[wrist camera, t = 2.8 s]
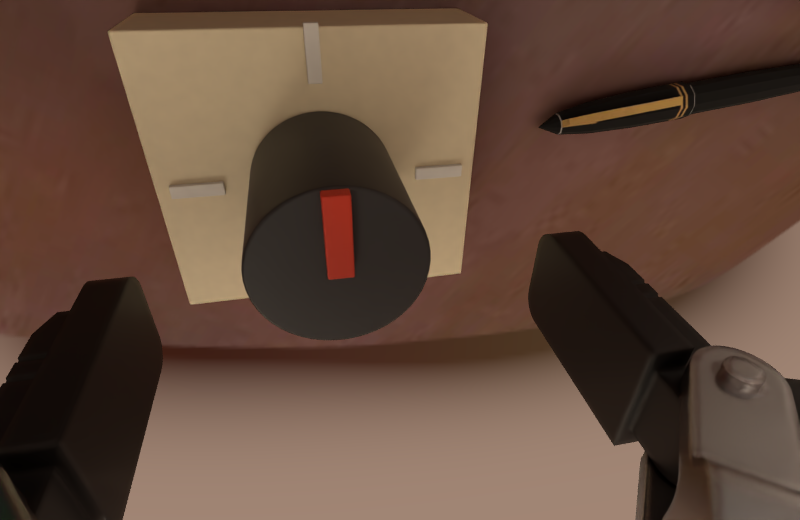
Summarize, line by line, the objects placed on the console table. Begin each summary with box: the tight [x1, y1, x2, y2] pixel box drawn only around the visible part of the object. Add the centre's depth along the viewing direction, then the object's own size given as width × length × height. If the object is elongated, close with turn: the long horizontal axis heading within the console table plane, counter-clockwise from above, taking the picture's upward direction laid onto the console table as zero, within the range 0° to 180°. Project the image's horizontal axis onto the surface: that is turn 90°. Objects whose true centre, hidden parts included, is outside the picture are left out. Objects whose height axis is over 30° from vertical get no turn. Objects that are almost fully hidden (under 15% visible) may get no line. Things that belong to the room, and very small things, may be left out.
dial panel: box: [108, 8, 488, 304], centre depth 15 cm, size 9×8×3 cm
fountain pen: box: [539, 64, 800, 134], centre depth 17 cm, size 14×1×2 cm, turn 96°
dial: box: [241, 111, 431, 340], centre depth 12 cm, size 4×4×5 cm
